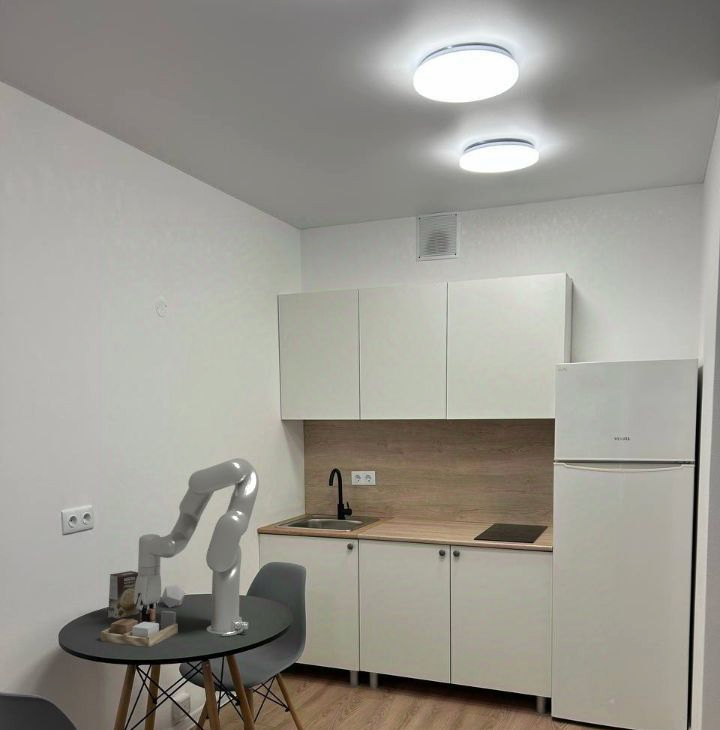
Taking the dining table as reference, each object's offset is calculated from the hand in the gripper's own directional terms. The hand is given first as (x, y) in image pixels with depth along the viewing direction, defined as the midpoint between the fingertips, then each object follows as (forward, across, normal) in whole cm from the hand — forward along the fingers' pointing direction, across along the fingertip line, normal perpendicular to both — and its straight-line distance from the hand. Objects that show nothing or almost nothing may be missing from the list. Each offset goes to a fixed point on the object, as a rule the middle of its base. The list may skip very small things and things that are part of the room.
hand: (147, 623), depth 244 cm
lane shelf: (+2, +7, +4) cm, 8 cm away
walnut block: (+1, +7, 0) cm, 8 cm away
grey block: (+1, +8, +9) cm, 12 cm away
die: (+2, -30, -10) cm, 31 cm away
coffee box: (+2, -10, -18) cm, 20 cm away
